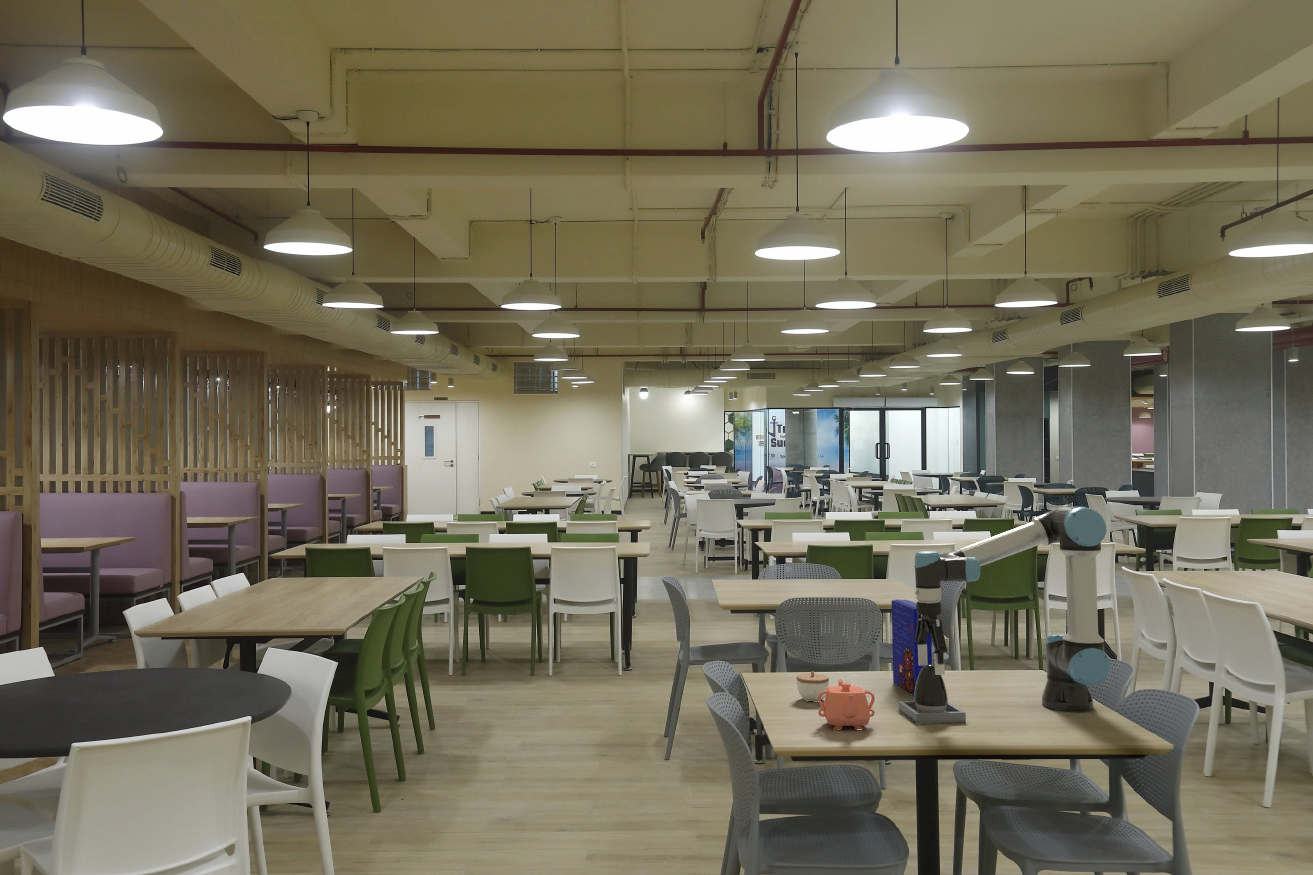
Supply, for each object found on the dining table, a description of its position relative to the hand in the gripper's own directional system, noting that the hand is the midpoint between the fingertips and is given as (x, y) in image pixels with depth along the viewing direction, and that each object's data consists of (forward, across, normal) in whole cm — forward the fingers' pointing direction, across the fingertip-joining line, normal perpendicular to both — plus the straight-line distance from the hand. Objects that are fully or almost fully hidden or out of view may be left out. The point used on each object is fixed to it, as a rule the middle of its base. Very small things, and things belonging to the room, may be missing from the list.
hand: (931, 669), depth 280 cm
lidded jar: (+14, -25, -32) cm, 43 cm away
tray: (+14, 0, 0) cm, 14 cm away
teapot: (+14, +7, -30) cm, 33 cm away
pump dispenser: (+14, 0, 0) cm, 14 cm away
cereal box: (+15, -35, +6) cm, 39 cm away
